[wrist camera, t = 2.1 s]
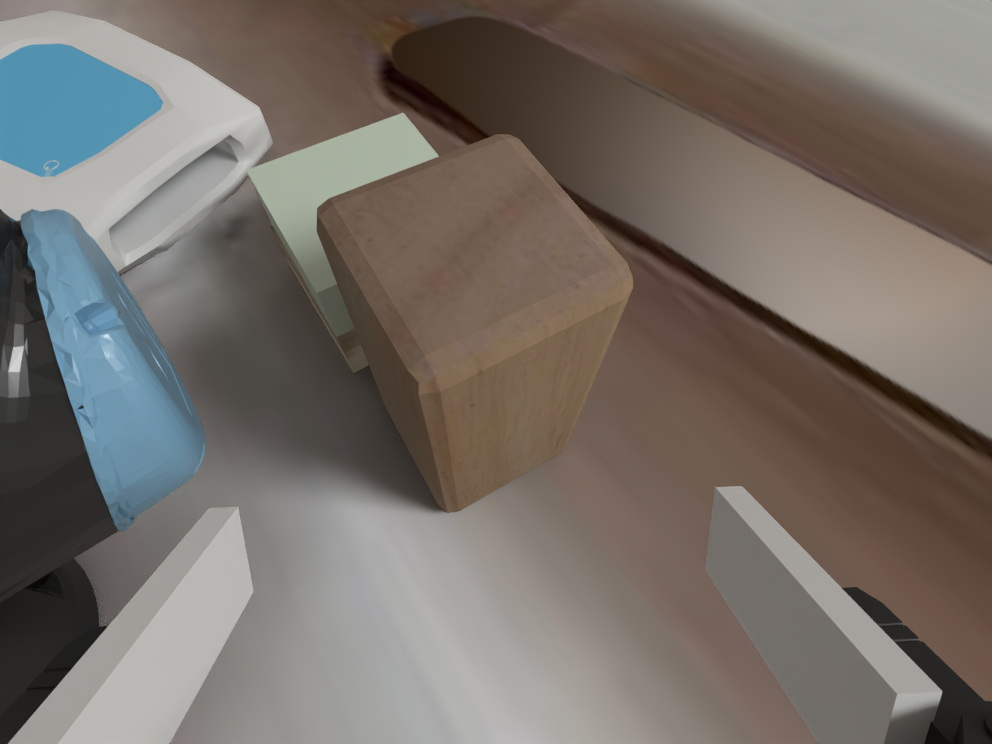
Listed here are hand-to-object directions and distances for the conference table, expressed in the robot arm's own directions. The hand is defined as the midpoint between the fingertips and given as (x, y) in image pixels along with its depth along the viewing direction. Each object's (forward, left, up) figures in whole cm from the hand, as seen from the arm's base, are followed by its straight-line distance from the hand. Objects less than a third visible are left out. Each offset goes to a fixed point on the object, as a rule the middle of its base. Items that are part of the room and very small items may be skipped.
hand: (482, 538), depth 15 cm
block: (0, +12, -21) cm, 24 cm away
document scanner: (-35, +40, -21) cm, 57 cm away
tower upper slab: (-7, +25, -16) cm, 30 cm away
